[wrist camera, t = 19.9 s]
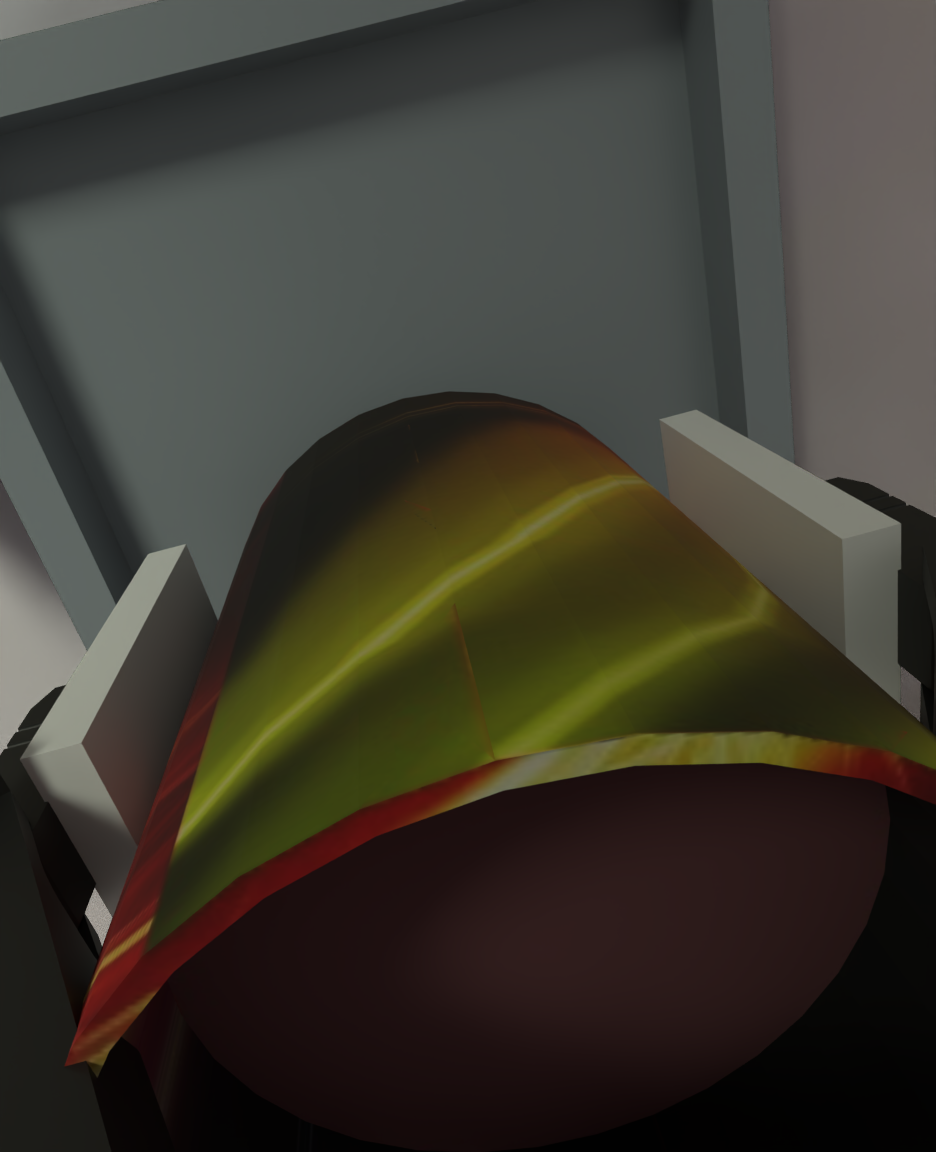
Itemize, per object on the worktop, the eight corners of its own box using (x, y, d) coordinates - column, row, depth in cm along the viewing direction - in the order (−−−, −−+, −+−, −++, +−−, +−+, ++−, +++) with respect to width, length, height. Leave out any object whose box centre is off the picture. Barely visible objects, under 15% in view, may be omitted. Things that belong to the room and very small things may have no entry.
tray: (-125, 106, 15) (-197, 89, 13) (708, -102, 15) (759, -149, 13) (245, 885, 23) (235, 944, 21) (776, 740, 23) (813, 786, 22)
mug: (575, 913, 22) (783, 1569, 11) (145, 633, 17) (-212, 1315, 6) (845, 679, 20) (1413, 1206, 9) (444, 286, 15) (655, 433, 4)
